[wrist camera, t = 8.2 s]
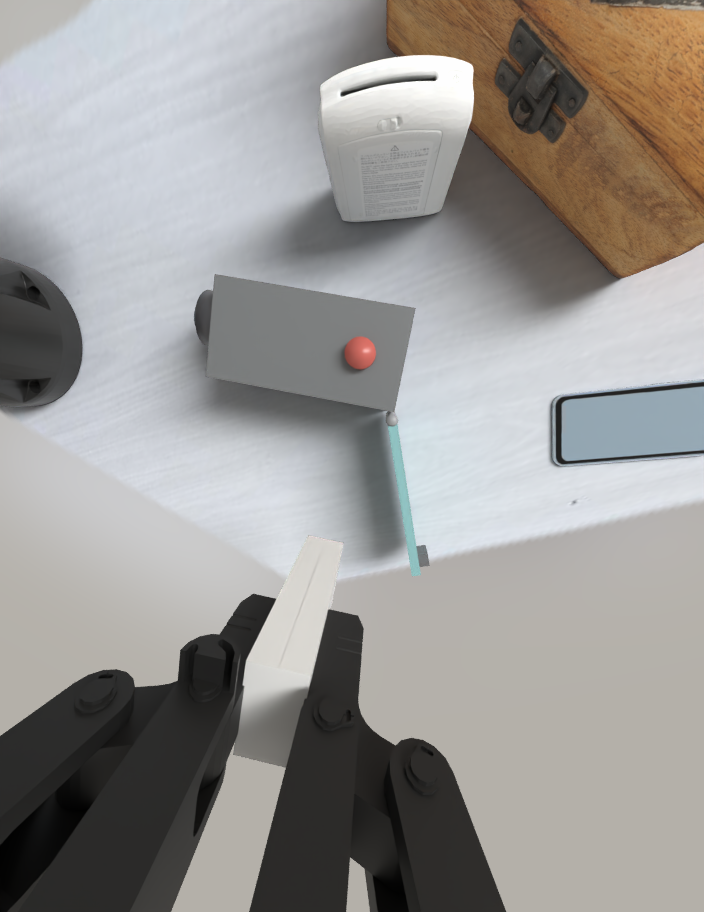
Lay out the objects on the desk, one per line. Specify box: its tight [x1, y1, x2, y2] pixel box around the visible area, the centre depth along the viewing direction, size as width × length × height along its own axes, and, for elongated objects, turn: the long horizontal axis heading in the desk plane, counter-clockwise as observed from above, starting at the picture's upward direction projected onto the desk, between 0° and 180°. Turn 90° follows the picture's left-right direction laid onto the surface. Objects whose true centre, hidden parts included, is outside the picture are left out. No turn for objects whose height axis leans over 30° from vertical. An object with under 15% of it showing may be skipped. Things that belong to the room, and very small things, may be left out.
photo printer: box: [318, 55, 474, 222], centre depth 25 cm, size 10×4×12 cm, turn 93°
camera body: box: [194, 274, 415, 412], centre depth 31 cm, size 19×8×9 cm, turn 80°
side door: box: [386, 411, 429, 576], centre depth 33 cm, size 15×2×6 cm, turn 10°
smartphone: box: [552, 379, 704, 466], centre depth 33 cm, size 7×1×15 cm
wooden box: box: [386, 0, 704, 278], centre depth 22 cm, size 30×16×14 cm, turn 46°
